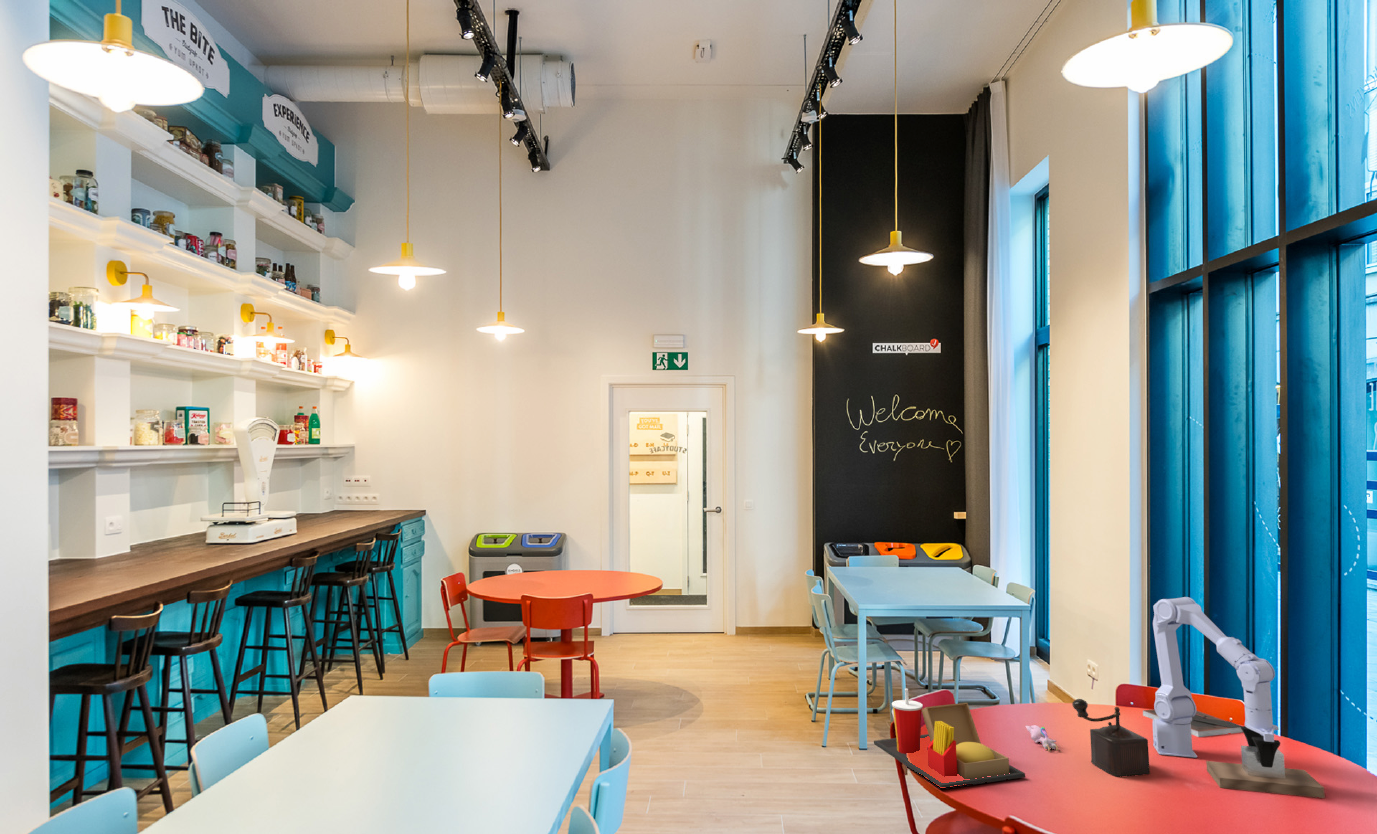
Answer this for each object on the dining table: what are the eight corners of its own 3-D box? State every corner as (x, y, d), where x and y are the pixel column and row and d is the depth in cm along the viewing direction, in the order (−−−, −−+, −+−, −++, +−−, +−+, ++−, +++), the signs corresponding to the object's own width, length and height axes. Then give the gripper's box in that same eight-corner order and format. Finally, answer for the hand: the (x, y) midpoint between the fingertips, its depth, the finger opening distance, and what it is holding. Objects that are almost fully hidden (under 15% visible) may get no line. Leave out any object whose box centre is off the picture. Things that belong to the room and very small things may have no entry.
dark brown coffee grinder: (1123, 759, 221) (1119, 694, 222) (1151, 774, 210) (1147, 705, 211) (1072, 763, 218) (1068, 697, 220) (1097, 778, 207) (1094, 709, 209)
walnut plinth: (1220, 787, 200) (1219, 777, 200) (1206, 770, 212) (1206, 760, 212) (1324, 798, 193) (1323, 787, 193) (1305, 779, 204) (1304, 769, 204)
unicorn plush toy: (1063, 756, 227) (1038, 730, 242) (1064, 736, 227) (1039, 712, 242) (1042, 757, 227) (1018, 731, 242) (1043, 737, 227) (1019, 713, 241)
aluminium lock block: (1248, 775, 202) (1246, 751, 202) (1242, 768, 206) (1240, 745, 206) (1285, 778, 199) (1283, 754, 199) (1278, 772, 203) (1277, 748, 203)
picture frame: (1243, 734, 241) (1185, 713, 262) (1243, 726, 241) (1185, 705, 262) (1198, 739, 237) (1143, 717, 258) (1197, 730, 237) (1142, 709, 258)
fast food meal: (941, 793, 201) (938, 719, 203) (874, 747, 235) (871, 684, 236) (1025, 780, 208) (1022, 709, 209) (948, 738, 242) (946, 676, 243)
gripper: (1287, 717, 195) (1290, 773, 194) (1266, 700, 209) (1269, 753, 208) (1253, 714, 198) (1257, 770, 197) (1235, 698, 211) (1238, 750, 210)
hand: (1261, 761), depth 203 cm, fingers open, 7 cm apart
